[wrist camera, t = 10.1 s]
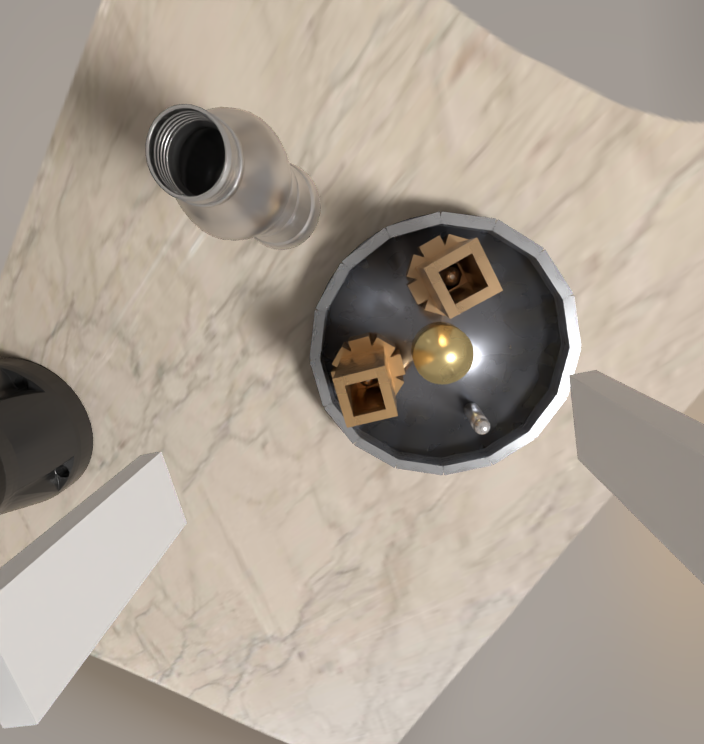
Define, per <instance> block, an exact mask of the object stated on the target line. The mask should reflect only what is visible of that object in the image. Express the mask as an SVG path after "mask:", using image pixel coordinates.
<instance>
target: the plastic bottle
mask: <svg viewBox="0 0 704 744" xmlns="http://www.w3.org/2000/svg"><path fill="white" fill-rule="evenodd" d="M146 159H147V164H148V167H149V170H150V172H151V174H152V176H153V178H154V180H155V181H156V182H157V184H158V185H159V186H160V187H161V188H162V189H163V190H164V191H166V192H167V193H168V194H169V195H171V196H173V197H175V198H176V200H177V201H178V203H179V205H180V207H181V208H182V210H183V211H184V212H185V214H186V215H187V216H188V217H189V219H190V220H191V221H192V222H193V223H194V224H195V225H196V226H197V227H198V228H200V229H201V230H202V231H204V232H206V233H207V234H209V235H211V236H213V237H216V238H220V239H223V240H246V239H251V238H255V239H256V240H257V241H258V242H260V243H261V244H263V245H265V246H266V247H269V248H272V249H277V250H285V249H291V248H294V247H297V246H298V245H300V244H302V243H303V242H304V241H306V240H307V239H308V238H309V237H310V235H311V234H312V233H313V231H314V230H315V228H316V226H317V223H318V220H319V216H320V207H321V205H320V197H319V193H318V189H317V187H316V185H315V183H314V181H313V180H312V179H311V177H310V176H309V175H308V174H307V173H306V172H305V171H304V170H303V169H301V168H299V167H298V166H296V165H294V164H291V163H289V160H288V157H287V153H286V151H285V149H284V147H283V145H282V143H281V141H280V140H279V138H278V136H277V135H276V133H275V132H274V131H273V130H272V128H271V127H270V126H269V125H268V124H267V123H266V122H265V121H263V120H262V119H261V118H260V117H258V116H256V115H254V114H252V113H251V112H248V111H245V110H241V109H238V108H227V107H218V108H212V109H208V110H205V109H203V108H201V107H198V106H194V105H191V104H179V105H174V106H172V107H169V108H167V109H166V110H164V111H163V112H161V113H160V114H159V115H158V116H157V117H156V119H155V120H154V121H153V123H152V125H151V127H150V129H149V132H148V135H147V139H146Z"/></svg>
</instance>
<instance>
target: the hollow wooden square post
mask: <svg viewBox="0 0 704 744" xmlns="http://www.w3.org/2000/svg"><path fill="white" fill-rule="evenodd" d="M348 342H349V345H348V344H347V343H345V342H344V343H343V344H342V346H341V348H340V350H339V351H338V353H337V355H336V357H335V358H334V360H333V363H332V365H334V366H333V368H332V370H331V375H332V378H333V379H332V380H333V383H334V386H335V390H336V393H337V396H338V400H339V403H340V407H341V410H342V413H343V417H344V420H345V423H346V427H347V428H349V427H353V426H357V425H361V424H366V423H370V422H374V421H378V420H383V419H387V418H391V417H395V416H398V412H397V404H396V394H397V393H398V391H399V390H400V388H401V386H402V385H403V383H404V379H403V375H405V370H404V366H403V362H402V358H401V354H400V350H395V343H393V342H392V341H390V340H388V339H387V338H385V337H383V336H381V335H380V334H378V333H377V334H376V336H375V338H374V340H373V341H372V340H371V336H370V333H369V332H368V333H364V334H360V335H357V336H353V337H350V339H349V341H348ZM394 350H395V351H394ZM374 378H376V382H375V383H374V384H373V385H372V386H370V387H366V386H363V385H362V384H361V383H360V382H362V381H366V380H370V379H374Z"/></svg>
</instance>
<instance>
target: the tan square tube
mask: <svg viewBox="0 0 704 744" xmlns="http://www.w3.org/2000/svg"><path fill="white" fill-rule="evenodd" d="M417 249H418V251H419V253H420V255H421V256H418V255H414V254H413V255H411V259H410V262H409V265H408V269H407V272H406V275H405V276H407V277H410V278H414V280H413V281H411V282H409V283H407V284H406V285H407V287H408V288H409V290H410V292H411V294H412V296H413V298H414V300H415V302H416V303H417V304H418V305H419V304H421V303H422V302H424V303H423V306H422V308H423V309H424V310H426V311H430V312H433V313H437V314H440V315H444V316H447V317H448V318H450V319H451V318H453V317H455V316H457V315H459V314H460V313H462V312H464V311H466V310H468V309H470V308H471V307H473V306H475V305H477V304H479V303H481V302H483V301H484V300H486V299H488V298H490V297H492V296H494V295H495V294H497V293H499V292H501V291H503V289H502V287H501V285H500V283H499V281H498V279H497V277H496V275H495V273H494V271H493V269H492V267H491V265H490V262H489V260H488V258H487V256H486V254H485V252H484V250H483V248H482V246H481V244H480V242H479V240H478V238H473V239H465V238H462V237H458V236H454V235H451V234H447V235H445V236H444V239H443V241H442V239H441V237H440V235H439V236H437V237H435V238H433V239H431V240H430V241H428V242H426V243H425V244H423V245H421V246H419V247H418V248H417ZM452 264H453V266H454V268H456V269H457V270H458V271H459V272H460V280H459V282H458V283H457V284H456V285H453V286H449V287H447V288H446V286H445V284H444V282H443V280H442V278H441V276H440V274H439V273H438V272H440V271H441V270H443V269H445V268H447V267H449V266H450V265H452Z"/></svg>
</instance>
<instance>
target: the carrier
mask: <svg viewBox="0 0 704 744" xmlns="http://www.w3.org/2000/svg"><path fill="white" fill-rule="evenodd" d="M447 234H451V235H454V236H458V237H462V238H465V239H473V238H478V240H479V242H480V244H481V246H482V248H483V250H484V252H485V254H486V256H487V258H488V260H489V262H490V265H491V267H492V269H493V271H494V273H495V275H496V277H497V279H498V281H499V283H500V285H501V287H502V289H503V291H501V292H499V293H497V294H495V295H494V296H492V297H490V298H488V299H486V300H484V301H483V302H481V303H479V304H477V305H475V306H473V307H471V308H470V309H468V310H466V311H464V312H462V313H460V314H459V315H457V316H455V317H453V318H451V319H450V318H448V317H447V316H444V315H440V314H437V313H433V312H430V311H426V310H424V309H423V308H422V306H423V303H424V302H422V303H421V304H419V305H418V304H417V303H416V302H415V300H414V298H413V296H412V294H411V292H410V290H409V288H408V287H407V285H406V284H407V283H409V282H411V281H413V280H414V278H410V277H407V276H405V275H406V272H407V269H408V265H409V262H410V259H411V255H413V254H414V255H418V256H421V255H420V253H419V251H418V249H417V248H418V247H419V246H421V245H423V244H425V243H426V242H428V241H430V240H431V239H433V238H435V237H437V236H439V235H440V237H441V239H442V241H443V239H444V236H445V235H447ZM342 262H343V263H340V265H339V267H338V269H337V270H336V272H335V273H334V275H333V276H332V278H331V279H330V281H329V282H328V284H327V286H326V288H325V291H324V293H323V295H322V297H321V299H320V301H319V303H318V305H317V307H316V310H315V314H314V323H313V332H312V342H311V351H310V359H311V360H310V364H311V367H312V371H313V374H314V377H315V381H316V384H317V387H318V391H319V394H320V398H321V401H322V404H323V406H325V407H324V409H325V410H326V411H327V412H328V414H329V415H330V416H331V417H332V419H333V420H334V421H335V422H336V424H337V425H338V426H339V427H340V429H341V430H342V431H343V432H344V433H345V435H346V436H347V437H348V438H349V440H350V441H351V442H352V443H355V444H354V445H355V446H357V447H359V448H360V449H362V450H364V451H366V452H368V453H369V454H371V455H373V456H375V457H376V458H378V459H380V460H382V461H383V462H385V463H387V464H389V465H391V466H392V467H394V468H395V466H396V468H398V469H404V470H411V471H417V472H424V473H431V474H437V475H443V472H444V475H448V474H453V473H458V472H463V471H467V470H472V469H477V468H482V467H487V466H491V463H492V464H493V465H494V464H495V463H497V462H499V461H500V460H502V459H503V458H505V457H507V456H508V455H510V454H512V453H513V452H515V451H516V450H518V449H520V448H521V447H523V446H525V445H526V444H528V443H529V442H531V441H533V440H534V437H536V438H537V436H538V435H539V434H540V432H541V431H542V430H543V428H544V427H545V426H546V425H547V423H548V422H549V421H550V419H551V418H552V417H553V415H554V414H555V413H556V412H557V410H558V409H559V408H560V406H561V405H562V404H563V402H564V401H565V400H566V399H567V398H565V397H564V396H567V397H568V393H569V390H570V379H569V375H573V374H574V372H575V368H576V365H577V361H578V357H579V354H580V350H581V348H580V347H579V346H581V340H580V333H579V326H578V319H577V312H576V305H575V297H574V295H572V294H573V292H572V290H571V289H570V287H569V286H568V284H567V283H566V281H565V279H564V278H563V276H562V275H561V273H560V272H559V270H558V269H557V267H556V266H555V264H554V262H553V261H552V259H551V258H550V256H549V255H548V253H547V252H546V250H543V247H541V246H540V245H538V244H536V243H535V242H533V241H532V240H530V239H528V238H527V237H525V236H524V235H522V234H520V233H519V232H517V231H516V230H514V229H513V228H511V227H509V226H508V225H506V224H505V223H503V222H501V221H500V220H496V219H494V218H486V217H479V216H471V215H466V214H457V213H449V212H437V213H433V214H428V215H424V216H419V217H414V218H410V219H407V220H404V221H401V222H399V223H396V224H393V225H391V226H387V227H386V228H383V229H382V230H381V231H379V232H377V233H376V234H374V235H373V236H372V237H370V238H369V239H367V240H366V241H364V242H363V243H362V244H360V245H359V246H358V247H357V248H356V249H355V250H354V251H353V252H352V253H351V254H350V255H348V257H347V258H346V259H344V260H343V261H342ZM438 273H439V274H440V276H441V278H442V280H443V282H444V284H445V286H446V288H447V287H449V286H453V285H456V284H457V283H458V282H459V280H460V272H459V271H458V270H457V269H456V268H454V266H453V264H452V265H450V266H449V267H447V268H445V269H443V270H441V271H440V272H438ZM368 332H369V333H370V336H371V340H372V341H373V340H374V338H375V336H376V334H377V333H378V334H380V335H381V336H383V337H385V338H387V339H388V340H390V341H392V342H393V343H395V350H400V354H401V358H402V362H403V366H404V370H405V375H403V379H404V383H403V385H402V386H401V388H400V390H399V391H398V393H397V394H396V404H397V412H398V416H395V417H391V418H387V419H383V420H378V421H374V422H370V423H366V424H361V425H357V426H353V427H349V428H347V427H346V423H345V420H344V417H343V413H342V410H341V407H340V403H339V400H338V396H337V393H336V390H335V386H334V383H333V380H332V379H333V378H332V375H331V370H332V368H333V366H334V365H332V363H333V360H334V358H335V357H336V355H337V353H338V351H339V350H340V348H341V346H342V344H343V343H344V342H345V343H347V344H348V345H349V342H348V341H349V339H350V337H353V336H357V335H360V334H364V333H368ZM395 350H394V351H395ZM375 382H376V378H374V379H370V380H366V381H362V382H360V383H361V384H362V385H363V386H366V387H370V386H372V385H373V384H374V383H375ZM533 436H534V437H533ZM490 461H491V462H490Z"/></svg>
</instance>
